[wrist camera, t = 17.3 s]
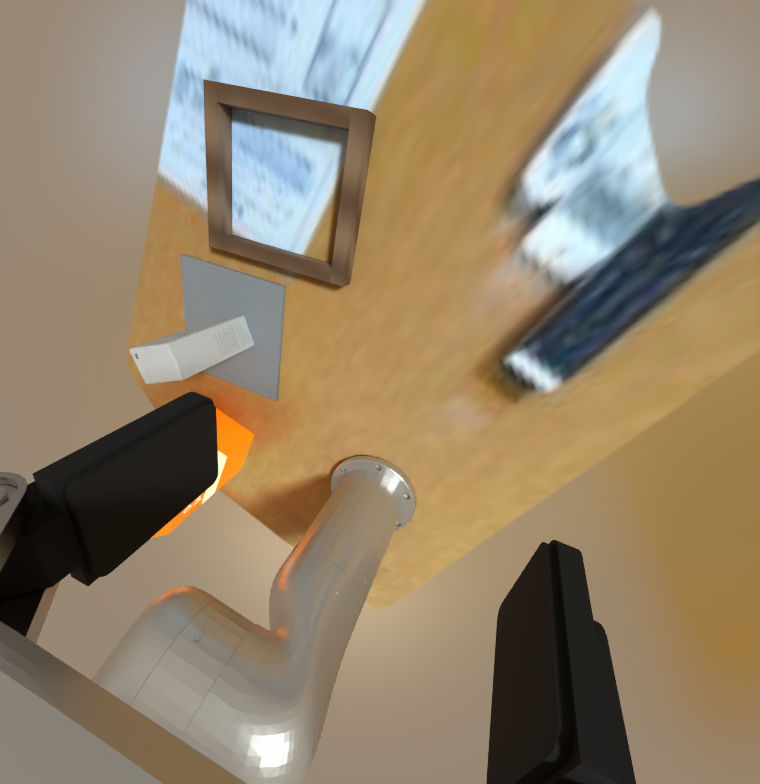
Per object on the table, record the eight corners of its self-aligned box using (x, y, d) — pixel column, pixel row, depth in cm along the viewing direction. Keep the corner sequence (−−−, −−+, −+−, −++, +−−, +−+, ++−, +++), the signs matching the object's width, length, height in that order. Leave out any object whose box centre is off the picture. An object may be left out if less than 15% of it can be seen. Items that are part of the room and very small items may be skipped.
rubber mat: (277, 399, 50) (276, 401, 50) (190, 365, 53) (188, 366, 53) (285, 286, 42) (283, 286, 42) (182, 253, 45) (180, 254, 45)
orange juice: (255, 435, 55) (135, 532, 38) (241, 470, 59) (128, 570, 43) (214, 406, 55) (77, 489, 38) (203, 443, 60) (77, 532, 43)
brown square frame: (350, 283, 39) (342, 286, 38) (221, 245, 43) (209, 246, 41) (376, 115, 32) (367, 110, 30) (218, 86, 36) (203, 79, 34)
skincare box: (222, 350, 49) (144, 385, 39) (210, 320, 48) (126, 348, 38) (256, 346, 47) (183, 381, 37) (245, 314, 45) (165, 341, 35)
